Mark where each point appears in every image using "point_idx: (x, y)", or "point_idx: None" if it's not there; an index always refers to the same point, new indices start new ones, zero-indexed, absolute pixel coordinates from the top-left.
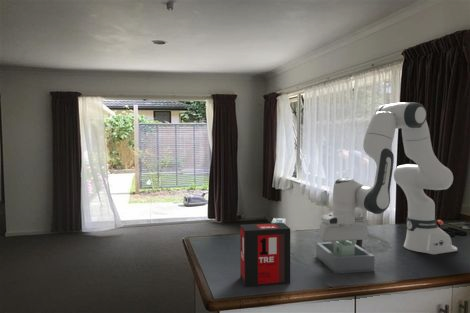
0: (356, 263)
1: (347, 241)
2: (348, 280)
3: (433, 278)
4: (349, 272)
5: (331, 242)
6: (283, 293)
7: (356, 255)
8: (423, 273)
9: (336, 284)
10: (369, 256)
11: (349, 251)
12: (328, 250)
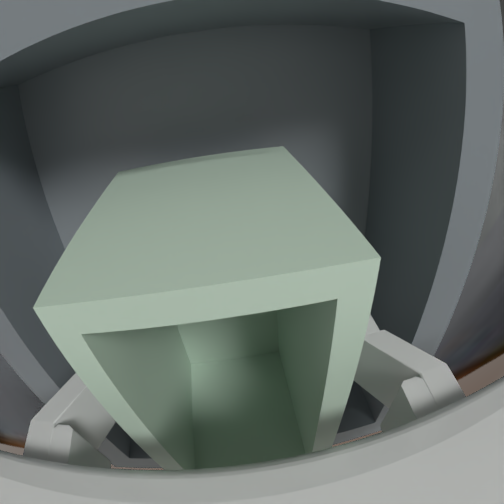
0: None
1: (339, 390)
2: None
3: (481, 364)
4: None
5: (38, 428)
6: (4, 440)
7: None
8: (497, 336)
9: None
10: (361, 434)
11: (253, 427)
12: (39, 376)
